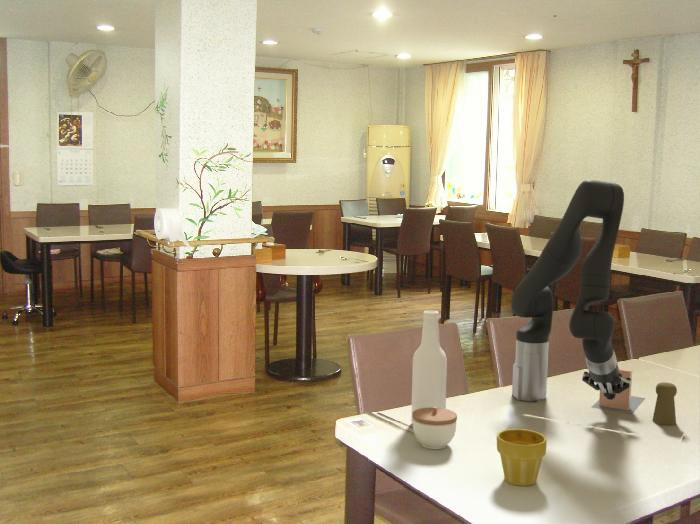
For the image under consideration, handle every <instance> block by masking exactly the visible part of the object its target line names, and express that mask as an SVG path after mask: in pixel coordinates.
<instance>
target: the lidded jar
mask: <svg viewBox="0 0 700 524" xmlns="http://www.w3.org/2000/svg"><path fill="white" fill-rule="evenodd" d="M411 414H412V418H413V423H412V430H413V433H414V437H415V438H416V440H417V441H418V443H420V446H421V447H423V448H424V449H429V450H441V449H442V450H443V449H445V448H446V447H448V446H447V445H448V444H450V443H451V442H452V440H453V439H454V436H455V435H456V434H455V433H456V429H457V421H458V415H457V413H456V412H455V411H453V410H450V409H447V408H446V409H444V408H437V407H429V408H421V409H417V410H415V411H414V412H413V413H412V412H411Z"/></svg>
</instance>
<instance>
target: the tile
mask: <svg viewBox="0 0 700 524" xmlns="http://www.w3.org/2000/svg"><path fill="white" fill-rule="evenodd" d="M618 368H619V367H618ZM619 373H620V374H621V375H622V377H623V378H625V379H626V378H630V379H631V382H630V386H629V388H627V389H626V390H624V391H622V392H621V393H619V394H618V393H616V395H615V398H613V400H610V399H607V397H605V396H604V393H603V392H602V390H599V397H598V398H599V399H598V400H599V406H605V407H611V408H617V409H623V410H629V409H630V402H631V396H632V384H633V383H632V382H633V381H632V379H633V370H632V369H628V368H619ZM616 385H617V384H616Z"/></svg>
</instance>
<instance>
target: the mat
mask: <svg viewBox="0 0 700 524" xmlns="http://www.w3.org/2000/svg"><path fill="white" fill-rule="evenodd" d="M645 399H646V397H641V396H640V397H639V396H634V395H631V402H630V409H629V410H623V409H617V408H611V407H605V406H599V399H598V400H597V401H596V402H595V403H594V404H593V405H591V408H593V409H597V410H598V409H599V410H605V411H611V412H617V413H623V414H628V415H629V414H630V415H633V414H634V413H635V411H636V410H637V409H638V408H639V407H640V405H641V404H642V403H643V402H644V401H645Z"/></svg>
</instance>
